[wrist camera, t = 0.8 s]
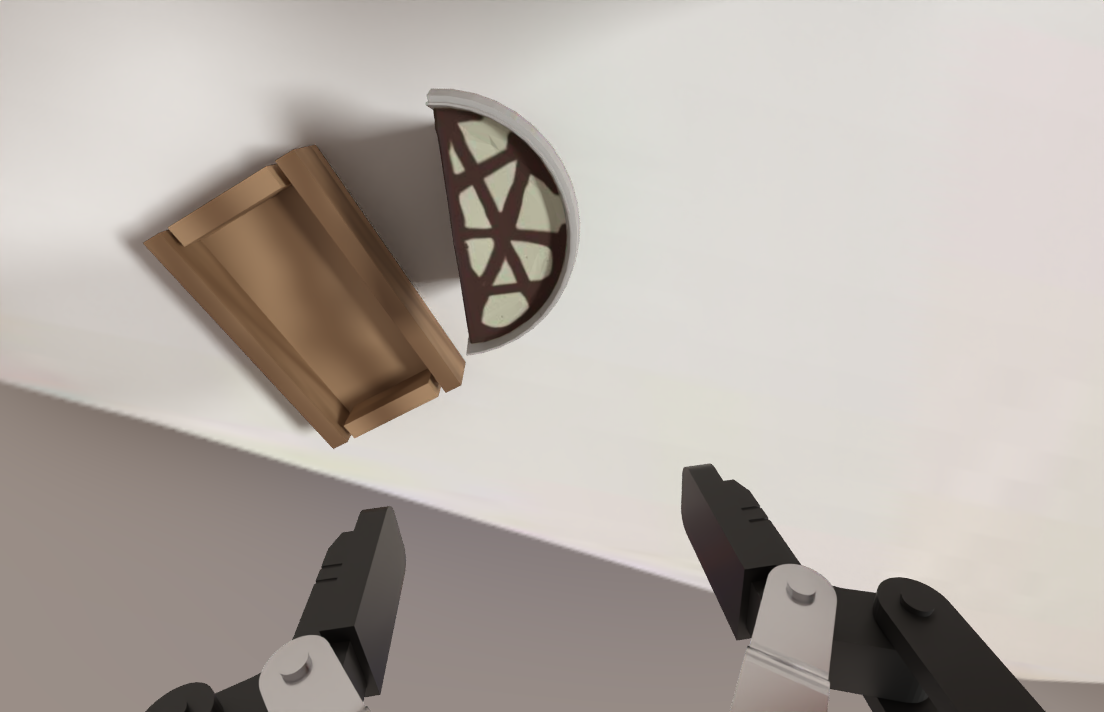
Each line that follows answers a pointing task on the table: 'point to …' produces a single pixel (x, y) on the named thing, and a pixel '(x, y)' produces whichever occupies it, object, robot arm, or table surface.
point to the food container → (504, 216)
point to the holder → (312, 297)
